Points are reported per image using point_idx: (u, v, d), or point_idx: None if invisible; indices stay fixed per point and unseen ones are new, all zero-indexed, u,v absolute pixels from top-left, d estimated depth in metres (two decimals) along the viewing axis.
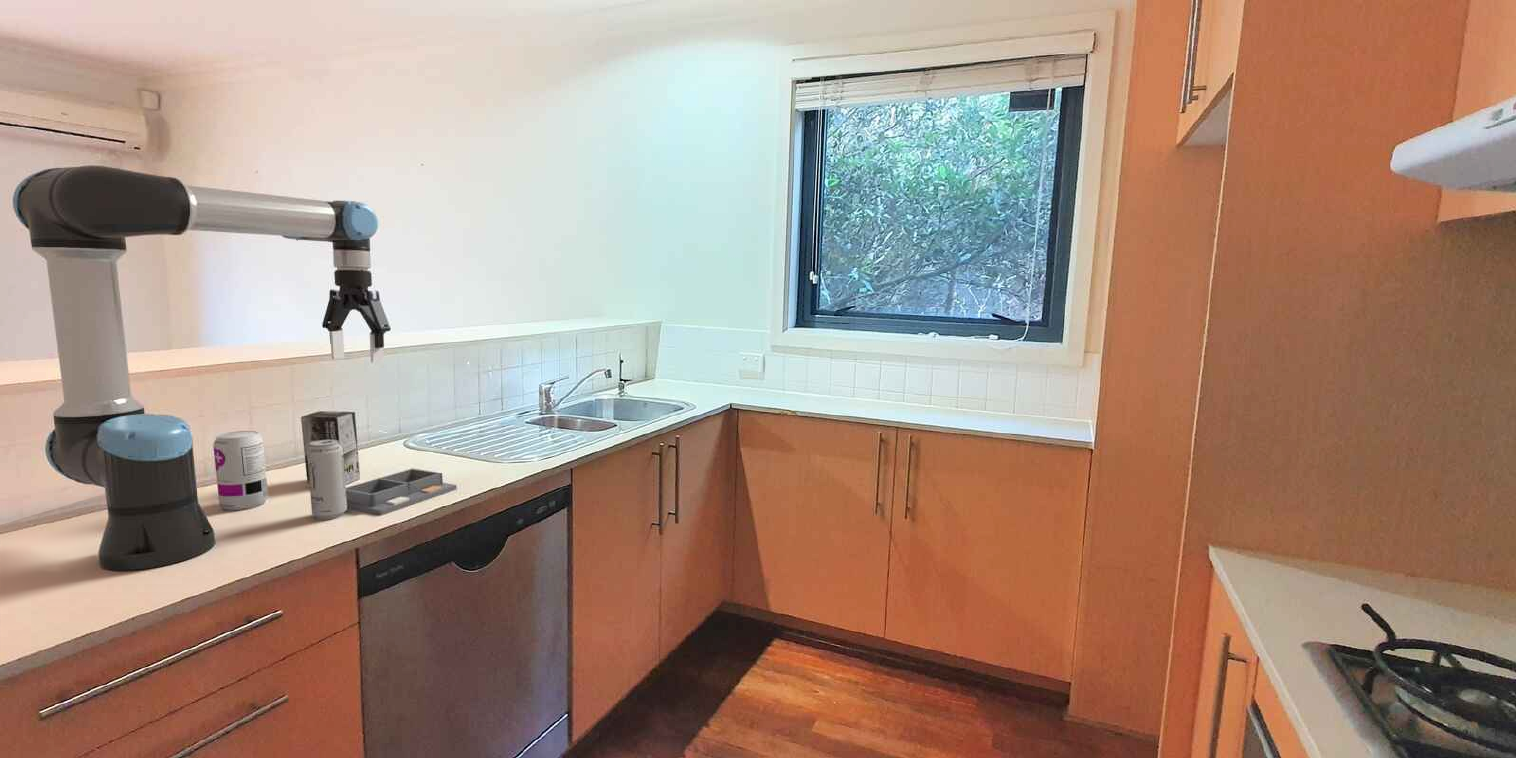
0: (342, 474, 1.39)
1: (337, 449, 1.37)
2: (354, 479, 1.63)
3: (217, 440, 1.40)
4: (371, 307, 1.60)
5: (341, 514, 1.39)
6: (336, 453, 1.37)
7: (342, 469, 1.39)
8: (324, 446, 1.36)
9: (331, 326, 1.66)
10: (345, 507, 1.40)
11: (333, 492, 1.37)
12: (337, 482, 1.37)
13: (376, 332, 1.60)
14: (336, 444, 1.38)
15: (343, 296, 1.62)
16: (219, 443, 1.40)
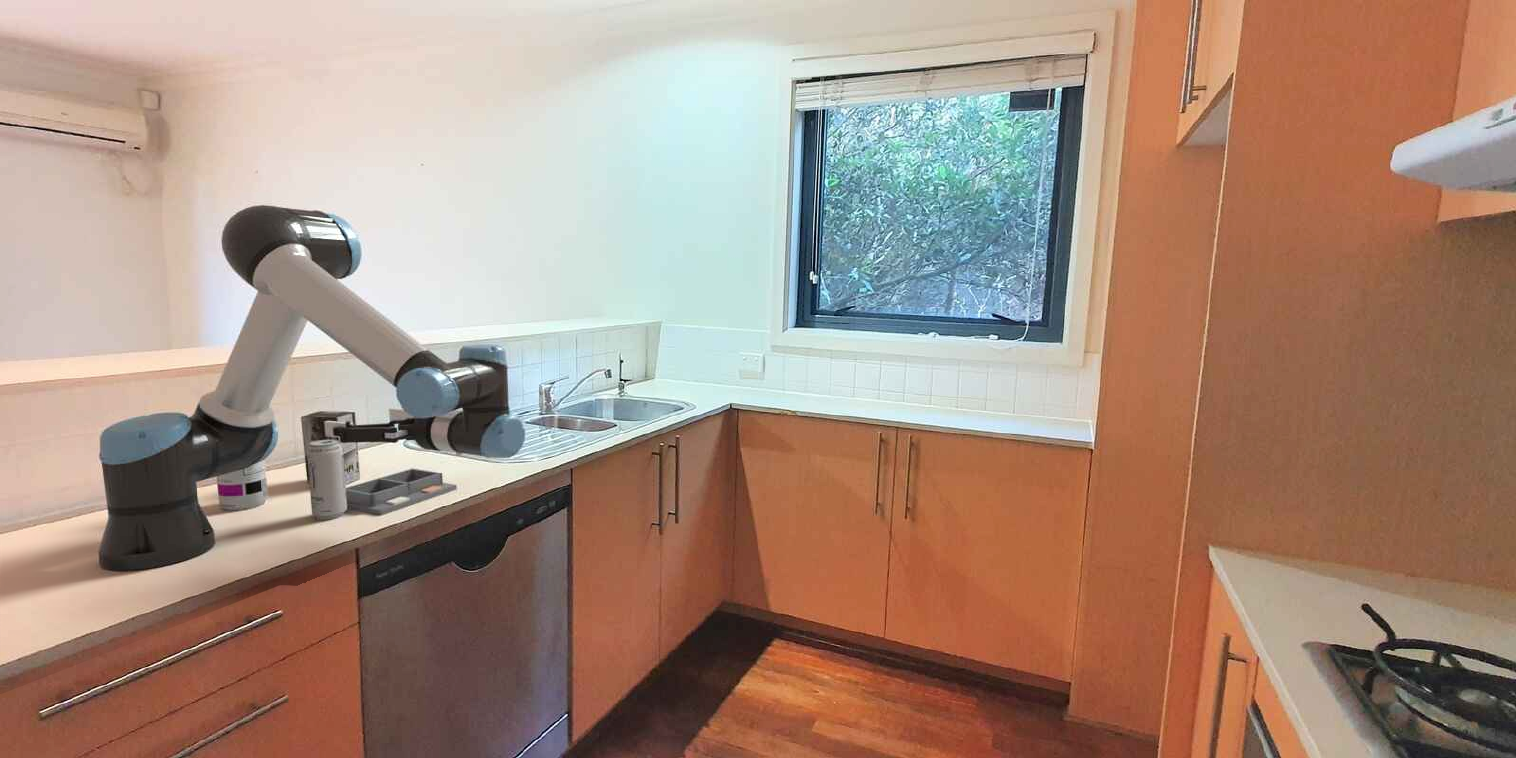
0: (342, 474, 1.39)
1: (337, 449, 1.37)
2: (354, 479, 1.63)
3: None
4: (374, 427, 1.22)
5: (341, 514, 1.39)
6: (336, 453, 1.37)
7: (342, 469, 1.39)
8: (324, 446, 1.36)
9: None
10: (345, 507, 1.40)
11: (333, 492, 1.37)
12: (337, 482, 1.37)
13: (346, 427, 1.23)
14: (336, 444, 1.38)
15: None
16: None
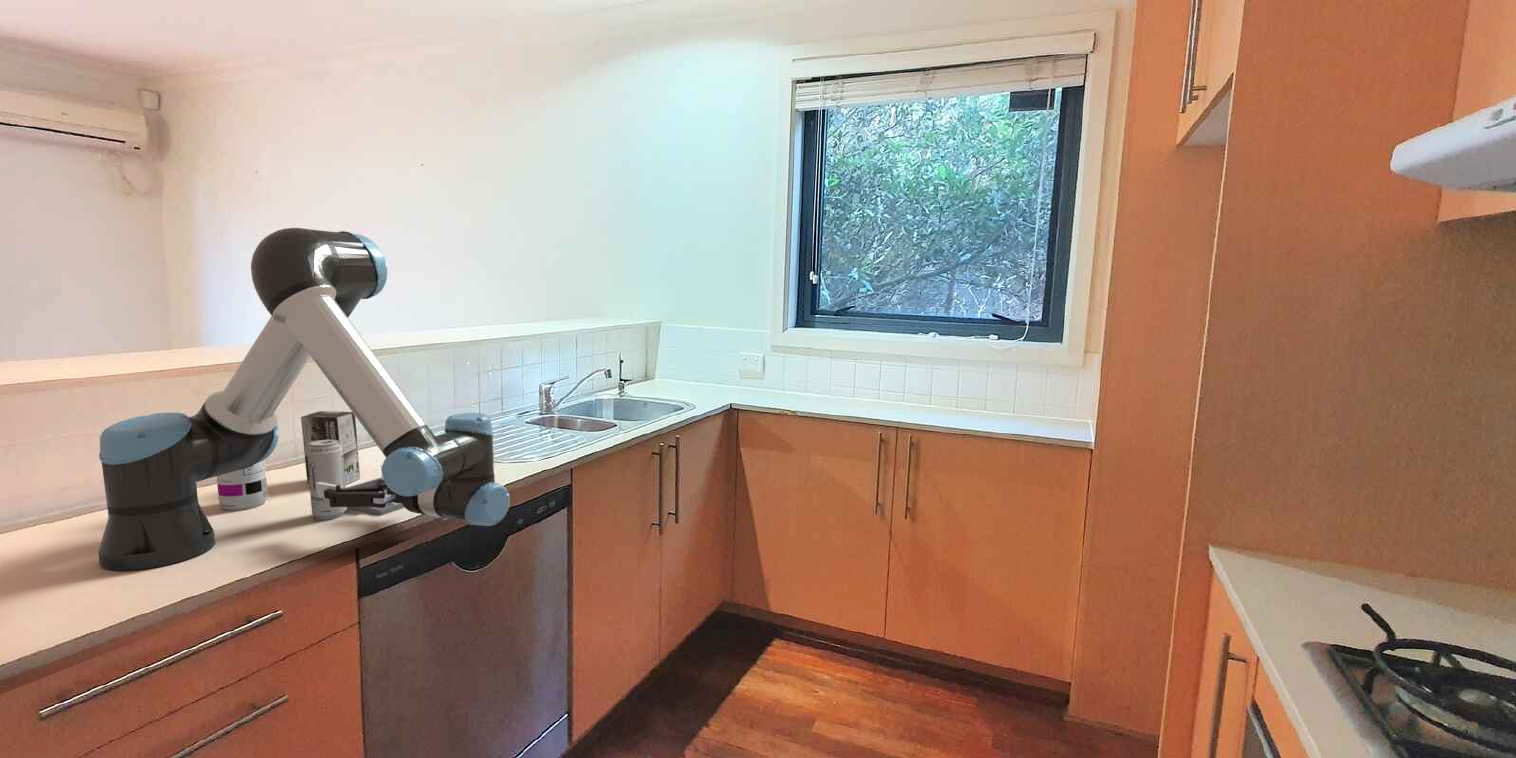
0: (342, 474, 1.39)
1: (337, 449, 1.37)
2: (354, 479, 1.63)
3: None
4: (363, 492, 1.24)
5: (341, 514, 1.39)
6: (336, 453, 1.37)
7: (342, 469, 1.39)
8: (324, 446, 1.36)
9: None
10: (345, 507, 1.40)
11: None
12: (337, 482, 1.37)
13: (336, 491, 1.26)
14: (336, 444, 1.38)
15: None
16: None
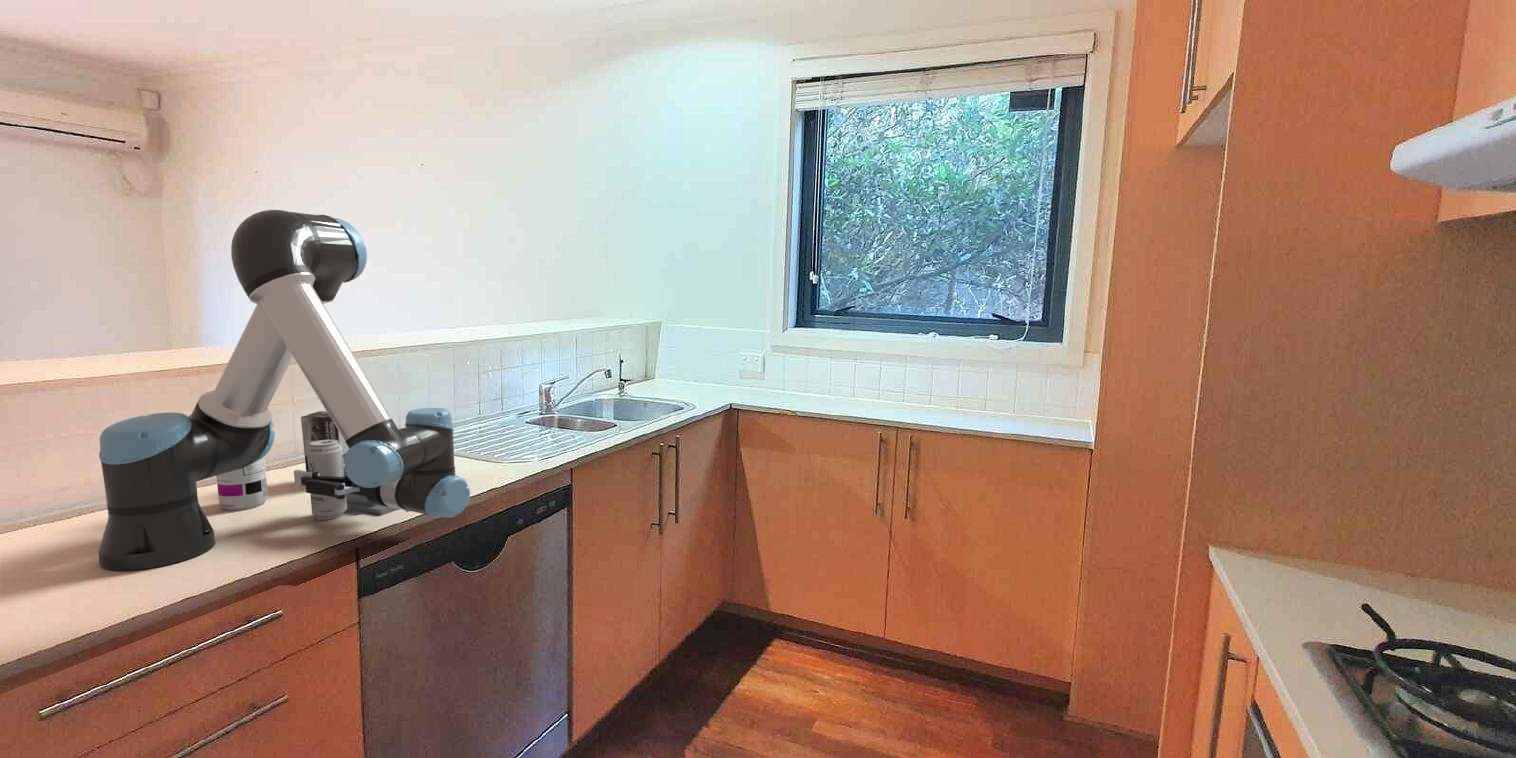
0: (342, 474, 1.39)
1: (336, 449, 1.37)
2: None
3: None
4: (329, 482, 1.30)
5: (341, 514, 1.39)
6: (336, 453, 1.37)
7: (342, 469, 1.39)
8: (324, 446, 1.36)
9: None
10: (345, 507, 1.40)
11: None
12: None
13: (312, 478, 1.33)
14: (336, 444, 1.38)
15: None
16: None
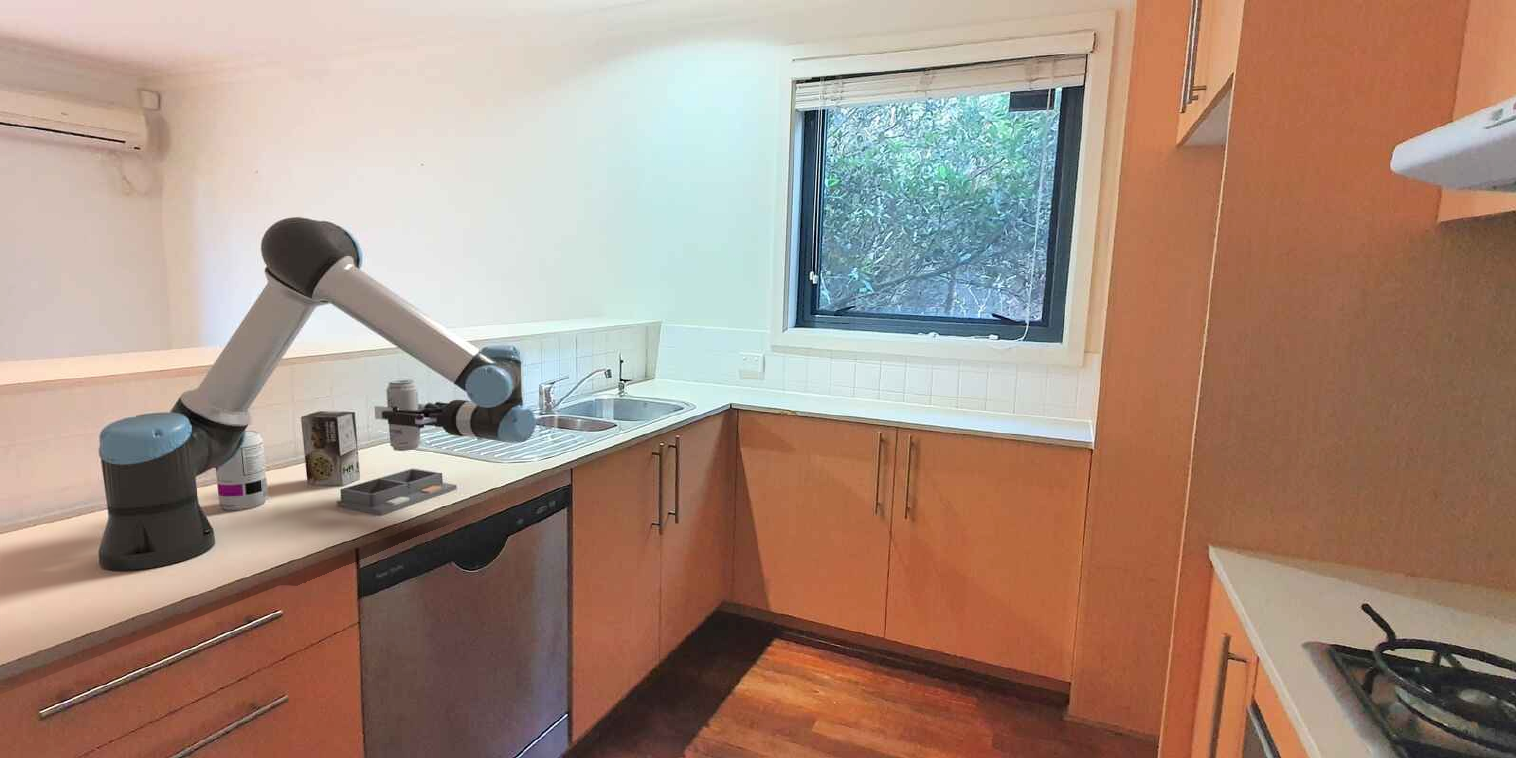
0: None
1: (413, 387, 1.52)
2: (354, 479, 1.63)
3: None
4: (409, 414, 1.44)
5: (416, 447, 1.54)
6: (413, 390, 1.52)
7: (417, 406, 1.54)
8: (402, 384, 1.51)
9: (429, 404, 1.55)
10: (419, 440, 1.55)
11: (410, 426, 1.52)
12: None
13: (392, 411, 1.48)
14: (412, 383, 1.53)
15: None
16: None
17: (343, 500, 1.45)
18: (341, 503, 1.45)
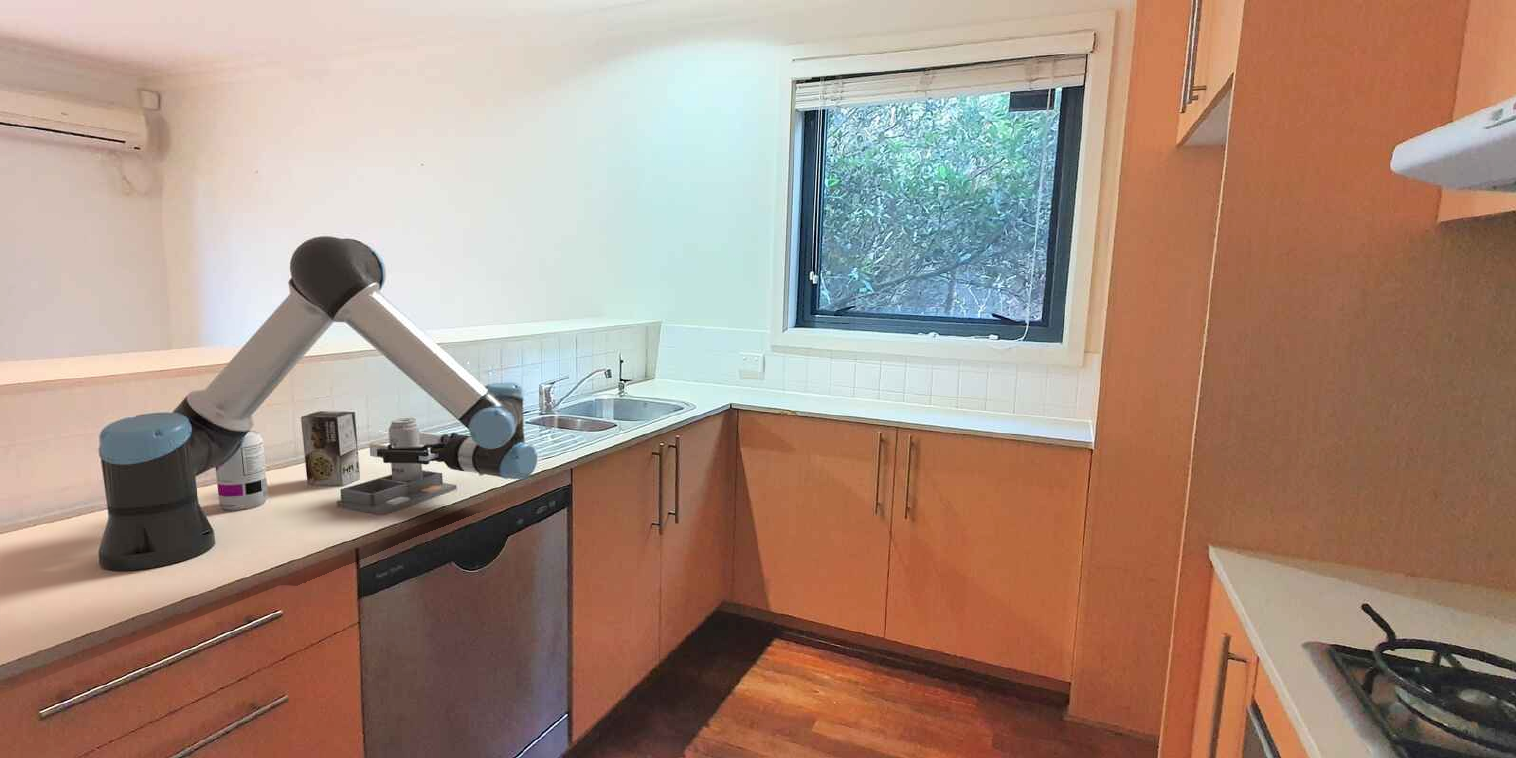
0: None
1: (415, 426, 1.54)
2: (354, 479, 1.63)
3: None
4: (410, 451, 1.44)
5: None
6: (415, 430, 1.53)
7: (419, 444, 1.55)
8: (404, 423, 1.52)
9: (443, 436, 1.58)
10: (421, 478, 1.56)
11: (412, 465, 1.53)
12: None
13: (388, 449, 1.46)
14: (414, 422, 1.54)
15: None
16: None
17: (343, 500, 1.45)
18: (341, 503, 1.45)
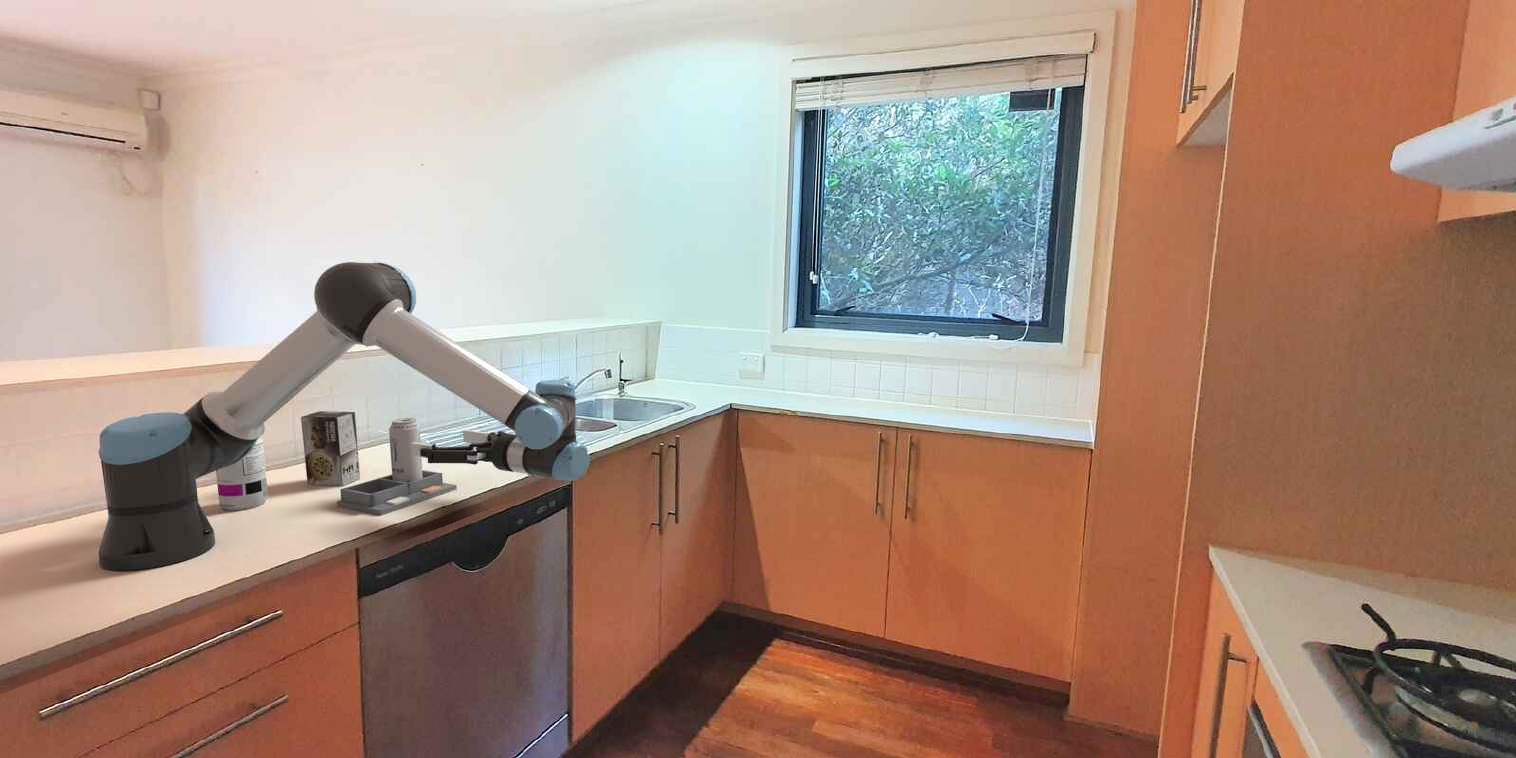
0: None
1: (415, 426, 1.54)
2: (354, 479, 1.63)
3: None
4: (458, 450, 1.38)
5: None
6: (415, 430, 1.53)
7: None
8: (405, 423, 1.52)
9: (491, 434, 1.53)
10: None
11: (412, 465, 1.53)
12: None
13: (432, 449, 1.40)
14: (414, 422, 1.54)
15: None
16: None
17: (343, 500, 1.45)
18: (341, 503, 1.45)
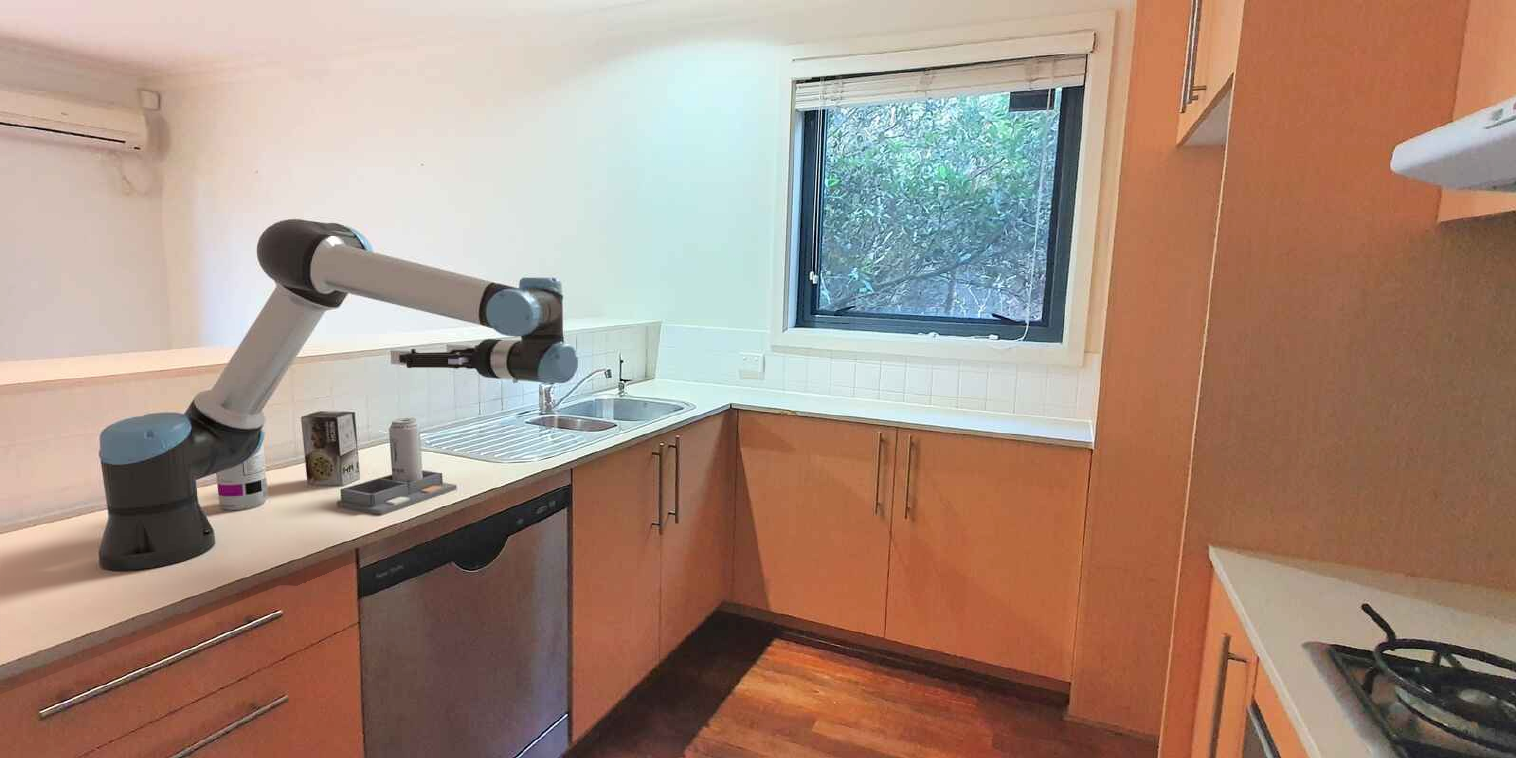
0: (419, 449, 1.55)
1: (415, 426, 1.54)
2: (354, 479, 1.63)
3: None
4: (438, 354, 1.30)
5: None
6: (415, 430, 1.53)
7: (419, 444, 1.55)
8: (405, 423, 1.52)
9: (475, 346, 1.45)
10: None
11: (412, 465, 1.53)
12: (415, 455, 1.54)
13: (411, 354, 1.32)
14: (414, 422, 1.54)
15: None
16: None
17: (343, 500, 1.45)
18: (341, 503, 1.45)
